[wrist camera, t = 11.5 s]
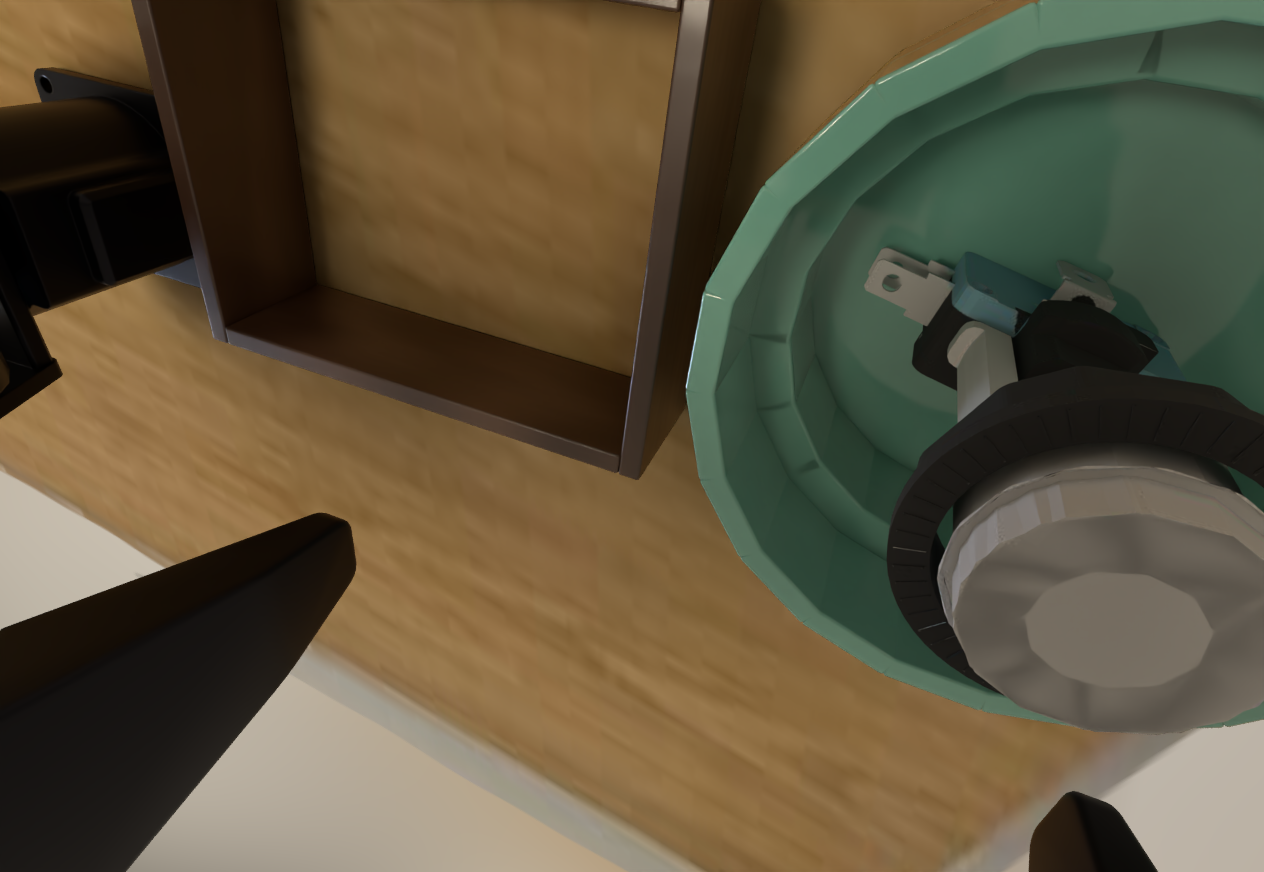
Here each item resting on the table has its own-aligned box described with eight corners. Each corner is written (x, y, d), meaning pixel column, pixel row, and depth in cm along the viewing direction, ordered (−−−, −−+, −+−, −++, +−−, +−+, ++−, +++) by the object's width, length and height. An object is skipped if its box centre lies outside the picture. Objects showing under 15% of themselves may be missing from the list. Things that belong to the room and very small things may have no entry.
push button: (826, 341, 19) (731, 603, 11) (942, 139, 15) (929, 301, 7) (1069, 458, 18) (1160, 835, 10) (1245, 272, 15) (1588, 609, 7)
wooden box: (306, 295, 25) (212, 339, 22) (244, -98, 19) (101, -115, 16) (684, 410, 22) (638, 482, 19) (765, -20, 15) (716, -22, 12)
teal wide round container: (718, 448, 22) (647, 588, 17) (837, -68, 15) (774, -98, 9) (1189, 597, 19) (1277, 822, 14) (1647, 37, 12) (2207, 77, 6)
